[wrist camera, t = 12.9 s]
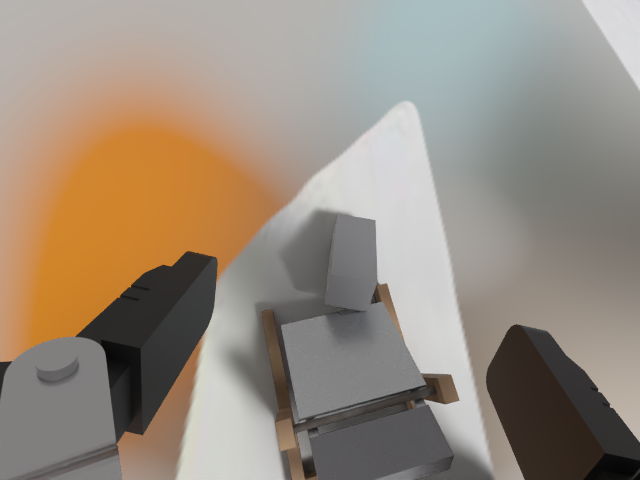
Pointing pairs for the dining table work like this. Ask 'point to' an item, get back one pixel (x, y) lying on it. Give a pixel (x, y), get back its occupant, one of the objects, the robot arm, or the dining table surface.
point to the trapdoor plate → (362, 397)
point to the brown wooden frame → (436, 391)
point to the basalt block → (352, 264)
